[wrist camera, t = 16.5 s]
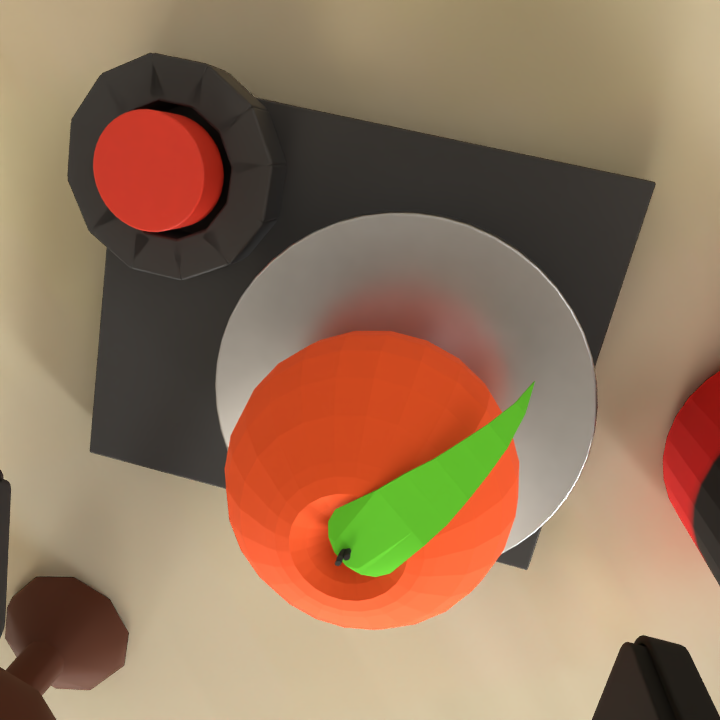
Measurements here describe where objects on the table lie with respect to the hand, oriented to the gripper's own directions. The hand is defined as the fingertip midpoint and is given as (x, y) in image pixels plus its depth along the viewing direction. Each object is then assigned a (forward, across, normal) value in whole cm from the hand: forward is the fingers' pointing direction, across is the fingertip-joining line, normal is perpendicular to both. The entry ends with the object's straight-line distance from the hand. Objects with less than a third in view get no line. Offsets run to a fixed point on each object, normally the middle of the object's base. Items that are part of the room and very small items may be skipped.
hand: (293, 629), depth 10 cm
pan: (+10, -1, 0) cm, 11 cm away
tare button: (+11, +7, -5) cm, 14 cm away
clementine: (+10, -1, 0) cm, 10 cm away
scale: (+14, +2, -1) cm, 14 cm away
